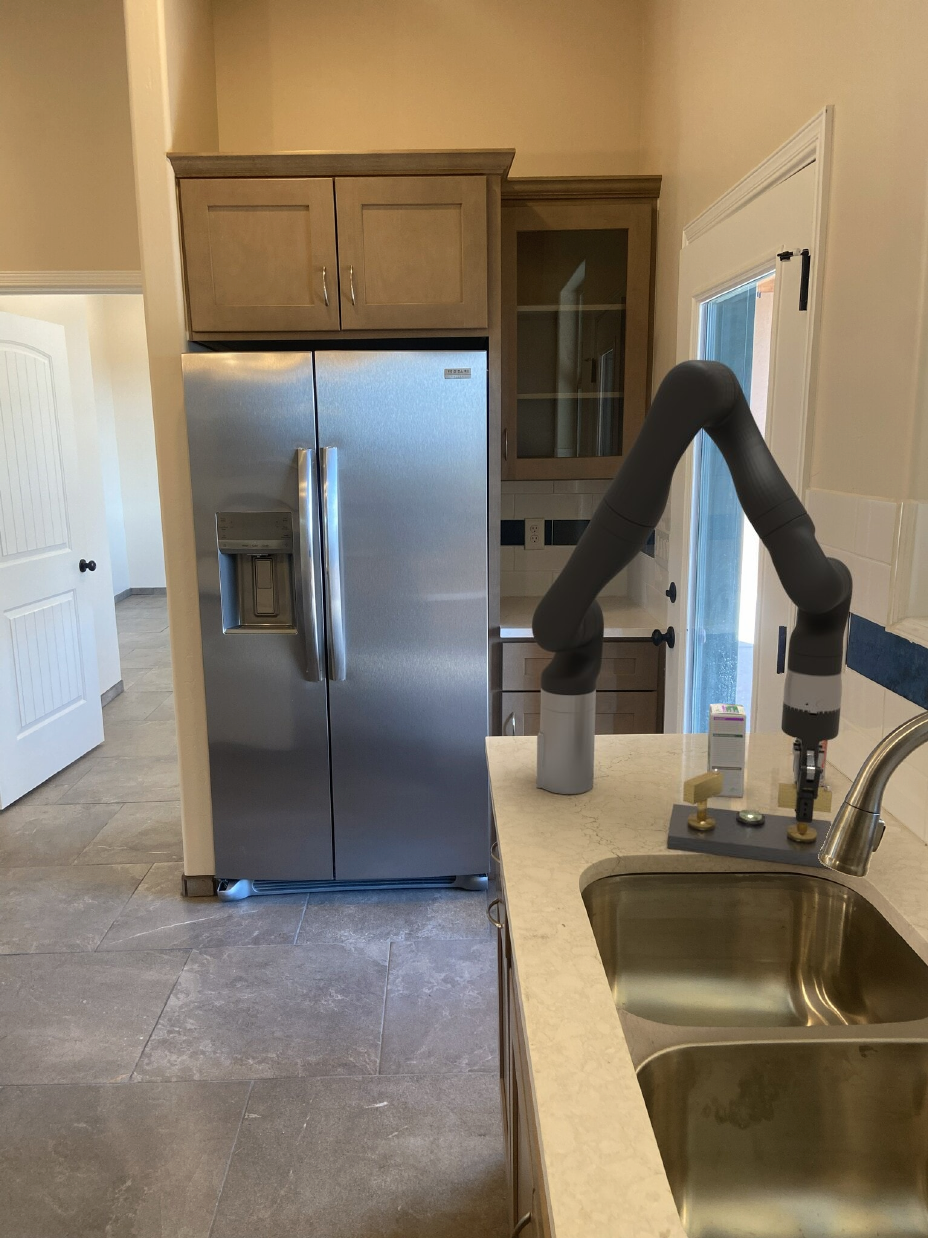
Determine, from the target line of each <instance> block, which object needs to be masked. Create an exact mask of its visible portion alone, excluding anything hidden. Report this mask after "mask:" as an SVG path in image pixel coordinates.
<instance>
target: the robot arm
mask: <svg viewBox="0 0 928 1238" xmlns="http://www.w3.org/2000/svg"><path fill="white" fill-rule="evenodd" d="M701 429H702V430H703V431H704V432H705V433H706V434H707V435H708V436H709V438H710V439H711V440H712V442H713V443H714V444H715V446H716V447H717V448H718V450H719V452H720V453H721V455H722V457H723V459H724V460H725V463H726V465H727V467H728V470H729V474H730V476H731V479H732V482H733V485H734V489H735V492H736V496H737V499H738V502H739V505H740V506H741V508H742V511H743V513H744V514H745V517H746V518H747V520H748V521H749V523H750V525H751V527H752V528H753V530H755V533H756V535H757V536H758V538H759V539H760V540H761V542H762V544H763V545H764V547H765V548H766V549H767V551H768V553H769V556H770V559H771V562H772V564H773V567H774V569H775V572H776V574H777V576H778V580H779V581H780V584H781V586H782V588H783V590H784V592H785V593H786V595H787V596H788V598H789V599H790V600H791V602H792V603H793V604H794V605H795V606H796V607H797V608H798V612H797V620H796V625H795V626H794V628H793V630H792V632H791V633H790V638H789V643H788V653H787V654H788V655H787V666H786V667H787V668H786V674H785V679H784V686H783V700H782V712H781V713H782V714H781V728H780V729H781V730H782V732H783V733H784V734H785V735H787V736H789V737H792V738H795V741H793V742H792V747H791V748H792V750H791V751H792V755H793V757H792V758H793V759H792V772H793V777H794V780H793V784H795V785H797V791H796V794H797V804H796V809H794V812H795V817H796V820H797V821H798V822H804V823H811V822H812V819H814V818H813V816H814V811H813V806H814V799H817V797H818V787H819V782H820V780H821V773H822V770H821V765H822V763H823V762H824V751H823V746H822V745H820V744H819V742H821V741H824V740H828V741H830V740H834V739H836V738H837V737H838V735H839V732H840V730H839V729H840V720H841V706H842V696H843V695H842V694H843V693H842V692H843V682H842V681H843V680H842V670H843V659H844V658H843V656H844V637H845V631H846V626H847V622H848V618H849V613H850V609H851V603H852V597H853V584H854V583H853V576H852V574H851V573H852V572H851V571H850V569H849V568H848V566H847V565H846V564H845V563H844V562H843V561H841V560H840V559H837V558H834V557H829V556H826V554H825V553H824V551H823V549H822V547H821V546H820V543H819V541H818V540H817V539H816V527H815V524H814V521H813V520H812V517H811V516H810V514H809V513H808V510H806V508H805V506H804V505H803V503H802V501H801V500H800V498H799V497H798V496H797V493H795V491H794V490H793V487H792V486H791V485H790V483H789V481H788V480H787V478H786V476H785V475H784V473H783V472H782V470H781V468H780V467H779V465H778V463H777V462H776V460H775V458H774V456H773V454H772V452H771V451H770V449H769V447H768V444H766V441H765V439H764V437H763V435H762V432H761V431H760V429H759V426H758V425H757V422H756V420H755V418H754V416H753V413H752V410H751V408H750V405H749V403H748V401H747V398H746V396H745V393H744V391H743V388H742V386H741V383H740V382H739V380H738V377H737V375H736V374H735V372H734V371H733V370H732V369H731V367H729V365H727V364H724V363H723V362H720V361H716V360H709V359H706V360H705V359H690V360H685V361H682V362H679V363H678V364H676V365H675V366H673V367H672V368H671V369H670V370H669V371H668V372H667V373H666V375H665V376H664V377H663V378H662V381H661V382H660V384H659V387H658V389H657V391H656V393H655V395H654V398H653V400H652V402H651V405H650V408H649V410H648V412H647V414H646V417H645V418H644V421H643V424H642V426H641V428H640V430H639V432H638V435H637V436H636V439H635V441H634V442H633V444H632V445H631V448H630V449H629V451H628V453H627V455H626V457H625V458H624V460H623V461H622V463H621V465H620V467H619V469H618V471H616V474H615V476H614V477H613V480H612V481H611V483H610V485H609V486H608V488H607V489H606V491H605V493H604V495H602V498H601V499H600V502H599V503H598V505H597V507H596V509H595V511H594V512H593V514H592V516H591V519H590V521H589V523H588V524H587V527H586V528H585V530H584V532H583V533H582V535H581V536H580V539H579V541H578V542H577V544H576V546H575V547H574V549H573V551H572V553H571V555H570V557H569V559H568V561H567V562H566V564H565V565H564V567H563V569H562V570H561V572H560V573H559V575H558V576H557V577H556V579H555V580H554V582H553V583H552V585H551V586H550V587H549V589H548V590H547V592H546V593H545V594H544V596H543V597H542V598H541V600H540V601H539V602H538V604H537V606H536V608H535V610H534V613H533V615H532V621H531V631H532V637H533V639H534V641H535V643H536V644H537V645H538V646H539V648H541V649H542V650H544V651H547V652H550V653H554V656H553V657H552V659H551V660H550V662H549V663H548V664H547V665H546V666H545V668H543V670H542V672H541V674H540V721H539V722H540V726H539V728H540V729H539V732H538V733H537V738H536V746H537V747H536V788H537V789H543V790H546V791H549V792H551V793H555V794H561V795H577V794H583V793H587V792H588V791H590V790H591V789H592V788H594V778H595V777H594V776H595V772H594V771H595V766H594V764H595V735H596V702H597V701H596V698H597V697H596V696H597V695H596V694H597V691H596V690H597V680H598V678H599V675H600V673H601V668H602V665H603V663H602V662H603V649H604V635H605V619H604V614H603V610H602V607H601V605H600V603H599V602H598V600H597V599H596V598H597V597H598V596H599V594H600V593H601V591H602V590H603V589H605V587H606V585H607V584H609V583H610V581H612V580H613V579H614V578H616V577H617V575H618V574H620V572H622V571H623V570H624V569H625V568H626V567H627V566H628V565H629V564H630V563H631V562H632V561H633V560H634V559H635V558H636V557H637V555H639V553H640V552H641V551H642V549H643V548H644V547H645V546H646V544H647V542H648V541H649V539H650V537H651V536H652V534H653V532H654V530H655V529H656V528H657V526H658V525H659V522H660V521H661V519H662V516H663V515H664V513H665V509H666V507H667V503H668V500H669V495H670V490H671V485H672V482H673V476H674V473H675V471H676V468H677V466H678V464H679V463H680V460H681V459H682V457H683V456H684V454H685V452H686V450H687V449H688V448H689V446H690V444H691V443H692V441H693V440H694V439H695V437H696V436H697V435H698V433H699V432H700V431H701ZM803 788H812V790H810V789H803Z"/></svg>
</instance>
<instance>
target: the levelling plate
mask: <svg viewBox="0 0 928 1238" xmlns="http://www.w3.org/2000/svg"><path fill="white" fill-rule="evenodd" d="M691 814H697V805H689V804H679V803H673V805H672V810H671V817H670V822H669V827H668V832H667V842H666V849H669V850H675V851H676V850H678V851H687V852H691V853H692V852H695V853H702V854H710V855H717V856H725V857H733V858H742V859H750V860H758V861H764V862H765V861H767V862H775V863H782V864H791V865H798V866H806V867H807V866H808V867H815V868H822V869H829V868H828V867H826V866H824V865H823V864H821V863H820V861H819V859H818V854H819V852H820V849H821V847H822V846H823V844H824V841H825V840H826V836H827V833H828V831H829V829H830V826H831V825H832V822H831V820H824V819H816V818H813V819H812V822H811V823H808V826H809V827H812V828H814V829H815V830H816V831H817V838H816V840H815V841H813V842H799V841H795V840H793V839H791V838H789V837H788V836H787V828H788V826H790V825H797V820H796V816H788V815H778V814H769V813H761V812H759V811H757V810H754V809H742V810H732V809H725V808H724V809H723V808H715V807H707V815H710V816H712V817H714V818H715V820H716V821H715V828H714V829H712V830H697V829H693V828H691V827H690V826H688V824H687V822H688V816H689V815H691Z"/></svg>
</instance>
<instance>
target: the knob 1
mask: <svg viewBox="0 0 928 1238" xmlns="http://www.w3.org/2000/svg"><path fill="white" fill-rule="evenodd" d="M722 780H723V773H720V772H719V770H718V769H713V770H712V771H709V772H707V771H706V772H705V773H702V774H699V775H697V776H694V777H691V778H690V779H686V780H685V781H683V796H682V797H683V798H682V802H685V803H687V804H690V805H692V806H695V805H696V804H697V805H696V806H697V814H691V815H689V816H688V822H687V824H688V826H690V827H691V828H693V829H697V830H712V829H714V828H715V821H716V820H715V818H714V817H712V816H710V815H707V808H708V799H711V798H712V797H716V796H715V795H717V794H720V793H722Z"/></svg>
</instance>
